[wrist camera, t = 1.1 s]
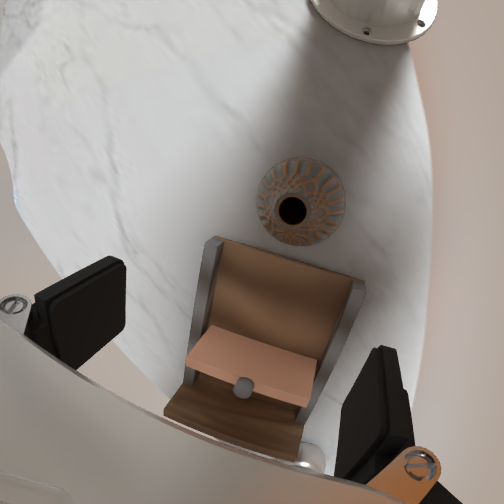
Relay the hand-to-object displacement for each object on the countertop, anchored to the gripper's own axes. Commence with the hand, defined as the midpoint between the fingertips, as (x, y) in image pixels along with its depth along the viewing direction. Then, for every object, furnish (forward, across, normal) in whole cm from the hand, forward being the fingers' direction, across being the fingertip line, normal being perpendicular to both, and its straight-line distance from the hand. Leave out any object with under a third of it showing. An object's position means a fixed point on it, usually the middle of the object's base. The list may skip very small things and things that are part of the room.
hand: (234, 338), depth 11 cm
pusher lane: (+19, 0, +13) cm, 23 cm away
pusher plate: (+19, 0, +13) cm, 23 cm away
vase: (+20, 0, -2) cm, 20 cm away
